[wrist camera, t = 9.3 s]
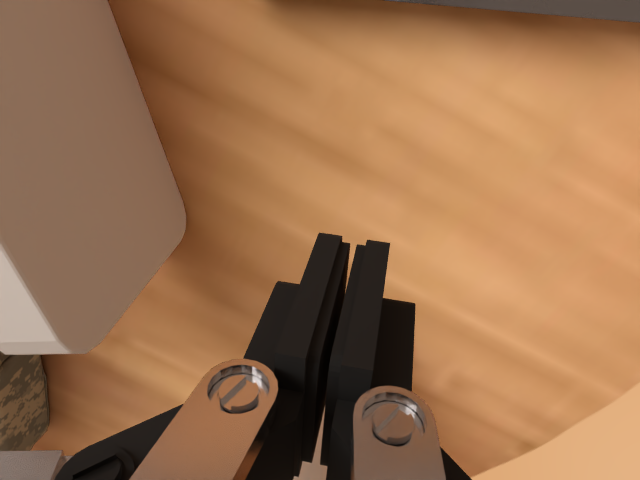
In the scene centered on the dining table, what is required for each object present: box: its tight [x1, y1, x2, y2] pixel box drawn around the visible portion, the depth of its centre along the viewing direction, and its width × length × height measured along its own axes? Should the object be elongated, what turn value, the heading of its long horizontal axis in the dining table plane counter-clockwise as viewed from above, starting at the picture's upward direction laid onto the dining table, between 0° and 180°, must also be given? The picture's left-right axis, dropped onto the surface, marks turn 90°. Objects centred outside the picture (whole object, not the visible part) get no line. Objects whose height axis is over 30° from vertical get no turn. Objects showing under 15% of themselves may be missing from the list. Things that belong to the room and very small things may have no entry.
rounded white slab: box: [0, 0, 186, 355], centre depth 32 cm, size 29×8×18 cm, turn 12°
